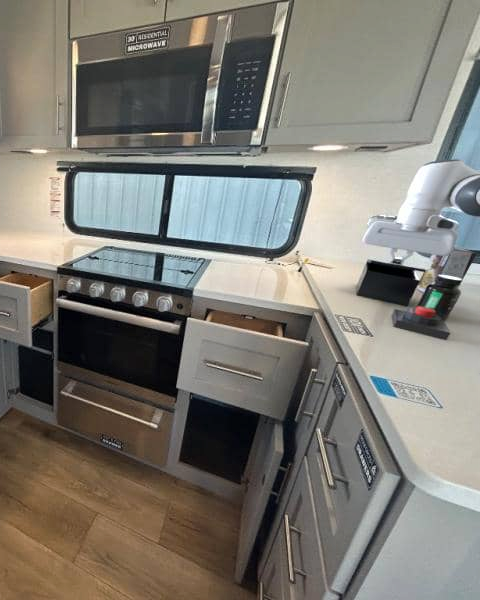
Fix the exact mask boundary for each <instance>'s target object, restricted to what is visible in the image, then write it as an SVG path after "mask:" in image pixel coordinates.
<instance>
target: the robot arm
mask: <svg viewBox="0 0 480 600" xmlns="http://www.w3.org/2000/svg"><path fill="white" fill-rule="evenodd" d="M445 208H452V209H454V210H456V211H459V212H462V213H464V214H466V215H469V216H471V217H477V218H478V217H479V218H480V171H478V170H476V169H474V168H471V167H470V166H468V165H467V164H466V163H464V162H463V160H461V159H458V158H457V159H456V158H453V159H444V160H443V159H442V160H434V161H429V162H427V163H425V164H423V165H421V167H420V168H419V169H418V171H417V172H416V174H415V175H414V177H413V180H412V181H411V183H410V186H409V187H408V189H407V196H406V198H405V200H404V202H403V203H402V204H401V206H400V208H399V211H398V212H397V215H384V214H377V215H373V216H371V217H370V218H369V219H368V222H367V225H366V227H367V228H368V229H366V231H365V233H364V236H363V238H362V243H363V244H365V245H371V246H376V247H382V248H389V249H390V250H389V252H390V256H391V258H390V260H389V263H393V264H399V265H404V262H405V260H406V261H407V260H408V259H409V258H410V257H411V256H413V254H414V252H415V253H422V254H427V255H432V254H433V255H440V256H448V255H450V254H451V253H452V251H453V249H454V247H456V244H457V239H458V233H457V232H456V230H458V228H459V227H460V223H458V221H456V220H453V219H450V218H449V217H447V216H442V212H443V210H444V209H445ZM398 250H402V251H405V255H403V256H402V257H397V256H396V254H395V253H397V252H398Z"/></svg>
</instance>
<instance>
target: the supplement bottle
mask: <svg viewBox="0 0 480 600" xmlns="http://www.w3.org/2000/svg"><path fill="white" fill-rule="evenodd" d="M435 281H436V282H435V283H432V284H429V285H428V286H427V287H426V289H425V291H424V292H422V295H421V296H420V297H421V298H420V299H419V301H418V303H417V305H416V306H415V309H416V308H417V306H421V307H427V308H430V309H433V310H435V311H436V312H435V314H436V315H438V316H440V318H441V320H444V321H447V320H448V318H449V316H450V315H451V313H452V311H453V309H454V308H455V305H456V304H457V302H458V301H459V299H460V297H461V295H462V290H461V289H460V288H458V286H459V287H460V286H461V283H463V280H462V279H460V278H457V277H453V276H448V275H438V276H437V278H436V279H435Z"/></svg>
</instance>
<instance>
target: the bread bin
mask: <svg viewBox="0 0 480 600" xmlns="http://www.w3.org/2000/svg"><path fill="white" fill-rule="evenodd" d="M419 282H420V278H419V276H418V274H417V271H415V270H409V269H404V268H398V267H392V266H387V265H381V264H375V263H370V262H367V261H366V262H365V264H364V267H363V269H362V272H361V274H360V277H359V279H358V281H357V284H356V295H355V296H358V297H362V298H366V299H371V300H375V301H380V302H383V303H388V304H393V305H397V306H401V307H406V308H407V307H408V306H409V304H410V302H411V300H412V298H413V296H414V294H415V292H416V290H417V286H418V284H419Z"/></svg>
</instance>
